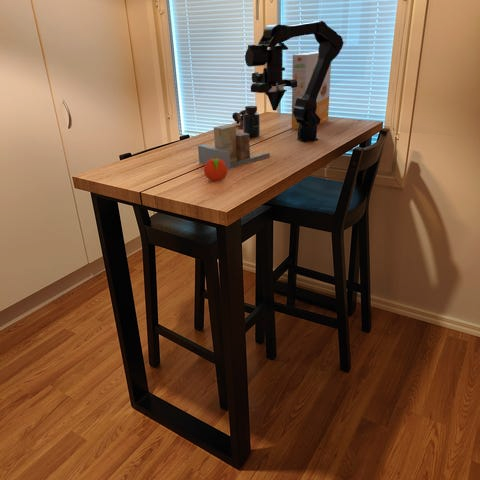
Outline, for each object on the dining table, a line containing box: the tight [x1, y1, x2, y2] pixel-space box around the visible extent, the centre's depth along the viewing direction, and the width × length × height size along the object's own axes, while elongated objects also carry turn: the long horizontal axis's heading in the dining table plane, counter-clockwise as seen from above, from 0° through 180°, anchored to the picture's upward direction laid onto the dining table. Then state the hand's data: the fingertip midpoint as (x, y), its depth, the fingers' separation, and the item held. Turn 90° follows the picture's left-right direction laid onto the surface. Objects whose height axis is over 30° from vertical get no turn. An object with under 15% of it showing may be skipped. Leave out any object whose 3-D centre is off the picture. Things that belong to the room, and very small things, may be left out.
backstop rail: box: [197, 143, 271, 171], centre depth 146 cm, size 21×14×6 cm, turn 132°
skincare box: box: [213, 124, 237, 163], centre depth 141 cm, size 6×4×12 cm
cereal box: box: [291, 50, 332, 130], centre depth 187 cm, size 22×6×30 cm, turn 143°
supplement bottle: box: [242, 105, 261, 139], centre depth 176 cm, size 7×7×12 cm
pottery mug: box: [231, 109, 246, 129], centre depth 196 cm, size 12×10×8 cm
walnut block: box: [236, 130, 251, 161], centre depth 145 cm, size 4×9×9 cm, turn 42°
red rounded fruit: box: [203, 158, 228, 183], centre depth 125 cm, size 8×7×7 cm
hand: (274, 110), depth 157 cm, fingers closed
